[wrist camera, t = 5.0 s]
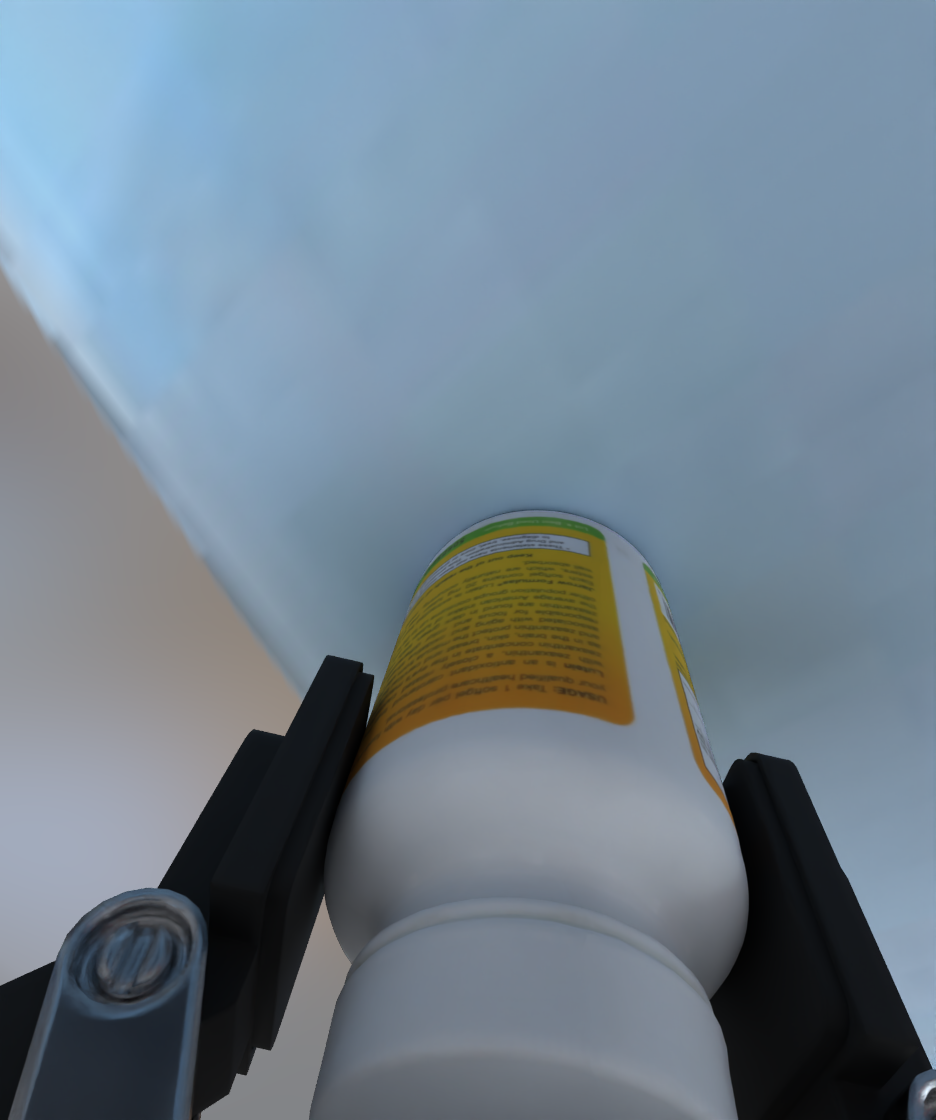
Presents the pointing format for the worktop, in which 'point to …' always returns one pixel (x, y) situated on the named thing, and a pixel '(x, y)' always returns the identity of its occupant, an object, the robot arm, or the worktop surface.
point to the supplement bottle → (533, 850)
